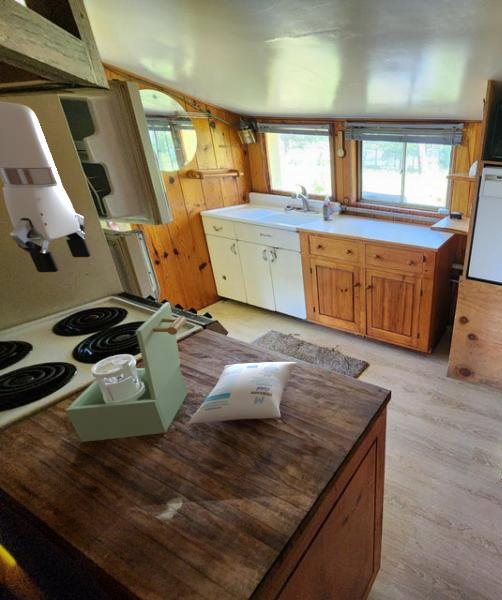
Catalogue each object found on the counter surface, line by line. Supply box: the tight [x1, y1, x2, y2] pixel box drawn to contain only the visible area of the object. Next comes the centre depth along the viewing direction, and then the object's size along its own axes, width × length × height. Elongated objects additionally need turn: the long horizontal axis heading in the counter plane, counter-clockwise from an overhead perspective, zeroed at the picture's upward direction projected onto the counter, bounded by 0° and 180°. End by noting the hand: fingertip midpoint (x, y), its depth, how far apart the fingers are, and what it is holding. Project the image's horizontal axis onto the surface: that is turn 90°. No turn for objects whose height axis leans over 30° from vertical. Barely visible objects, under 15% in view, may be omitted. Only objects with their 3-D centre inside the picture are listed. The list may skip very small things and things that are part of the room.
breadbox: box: [65, 366, 188, 443], centre depth 73 cm, size 16×13×9 cm
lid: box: [135, 301, 188, 400], centre depth 69 cm, size 16×13×5 cm
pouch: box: [187, 361, 298, 424], centre depth 78 cm, size 8×19×20 cm
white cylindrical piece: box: [91, 353, 146, 404], centre depth 71 cm, size 7×7×15 cm
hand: (66, 263), depth 68 cm, fingers open, 9 cm apart
